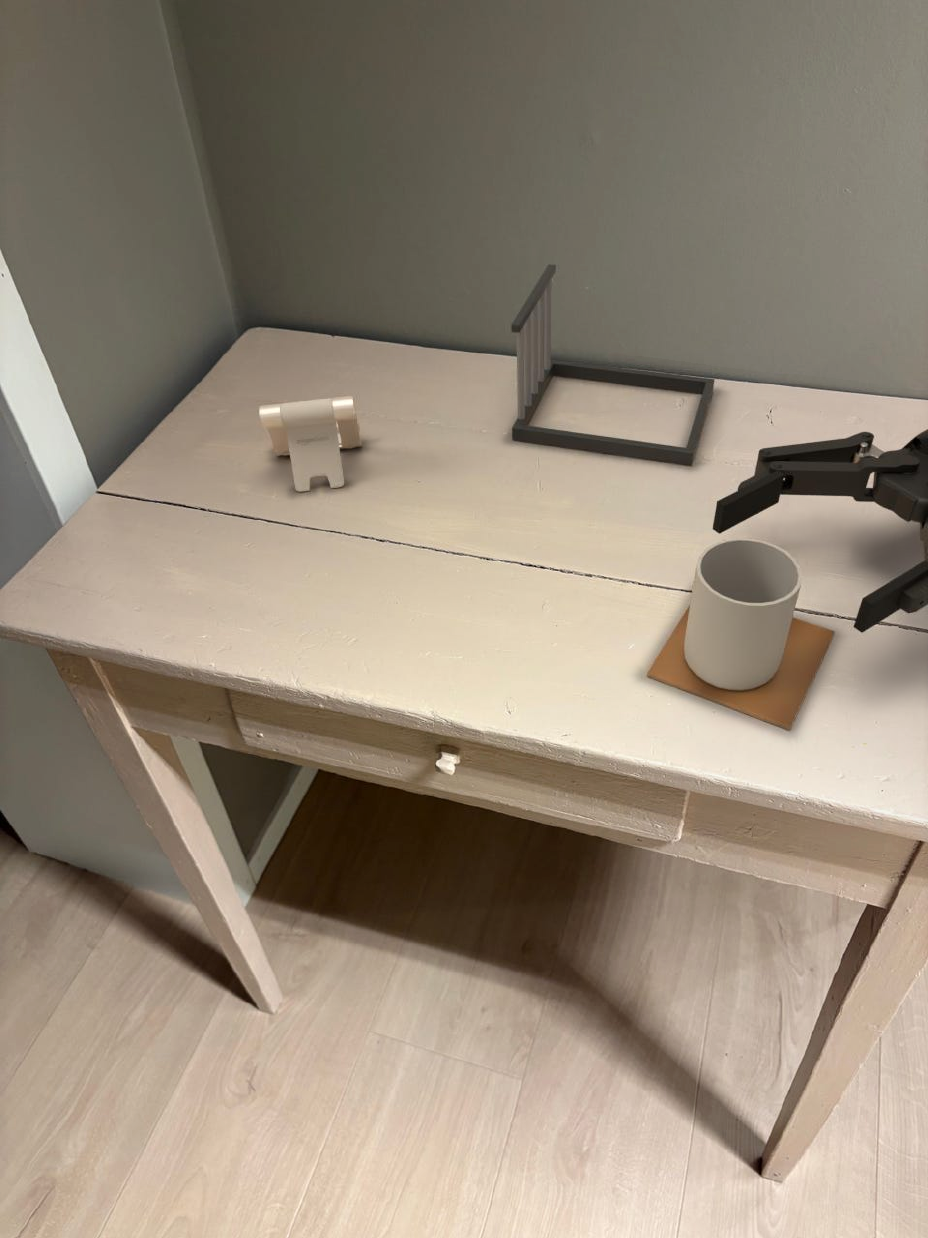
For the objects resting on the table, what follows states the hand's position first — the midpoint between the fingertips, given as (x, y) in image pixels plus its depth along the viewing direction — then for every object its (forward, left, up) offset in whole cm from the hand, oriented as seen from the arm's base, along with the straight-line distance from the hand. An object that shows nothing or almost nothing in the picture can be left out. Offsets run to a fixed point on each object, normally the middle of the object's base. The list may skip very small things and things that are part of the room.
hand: (785, 564), depth 69 cm
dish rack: (+24, -24, -8) cm, 35 cm away
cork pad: (+1, +2, -8) cm, 8 cm away
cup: (+2, +2, -8) cm, 8 cm away
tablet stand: (+46, -3, -8) cm, 47 cm away
